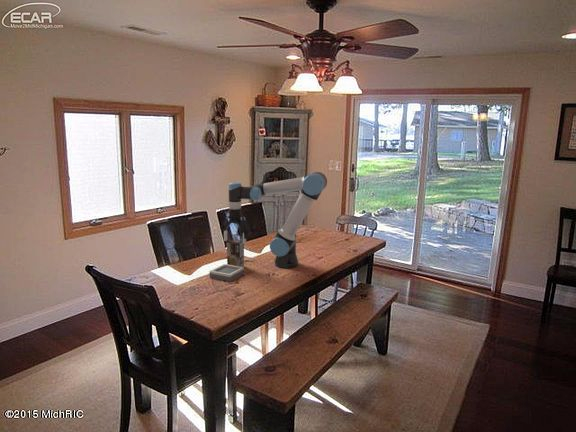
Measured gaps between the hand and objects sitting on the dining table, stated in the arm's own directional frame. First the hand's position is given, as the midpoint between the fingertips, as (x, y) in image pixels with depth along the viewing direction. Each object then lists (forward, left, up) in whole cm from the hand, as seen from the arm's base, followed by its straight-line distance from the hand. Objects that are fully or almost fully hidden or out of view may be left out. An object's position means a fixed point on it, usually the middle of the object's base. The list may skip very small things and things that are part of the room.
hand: (234, 242), depth 255 cm
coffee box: (0, 0, -16) cm, 16 cm away
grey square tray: (-4, +15, -16) cm, 23 cm away
